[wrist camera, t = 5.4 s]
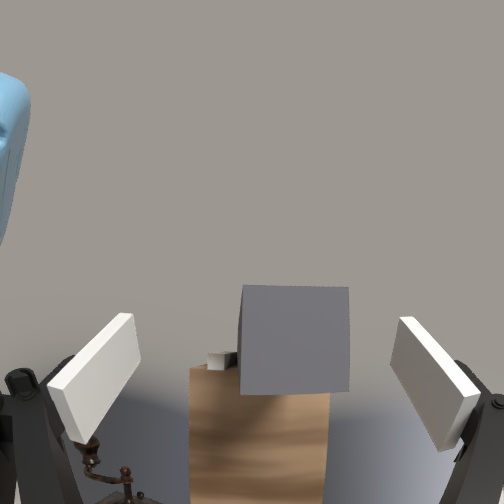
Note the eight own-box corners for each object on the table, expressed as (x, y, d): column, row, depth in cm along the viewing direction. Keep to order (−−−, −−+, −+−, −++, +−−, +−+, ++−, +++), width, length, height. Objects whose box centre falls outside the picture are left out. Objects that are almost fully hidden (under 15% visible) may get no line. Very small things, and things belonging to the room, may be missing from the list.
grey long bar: (349, 391, 10) (348, 286, 12) (240, 394, 10) (243, 284, 11) (269, 361, 37) (270, 329, 38) (237, 360, 37) (237, 328, 38)
